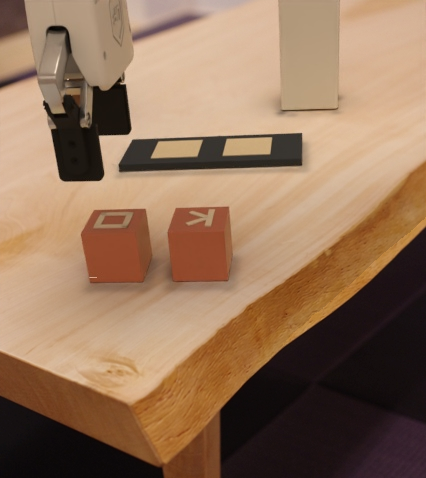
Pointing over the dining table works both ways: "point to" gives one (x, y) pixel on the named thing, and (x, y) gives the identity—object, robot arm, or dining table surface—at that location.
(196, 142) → the word mat
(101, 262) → the red letter o block
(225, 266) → the red letter k block
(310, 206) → the dining table surface
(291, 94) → the milk carton
